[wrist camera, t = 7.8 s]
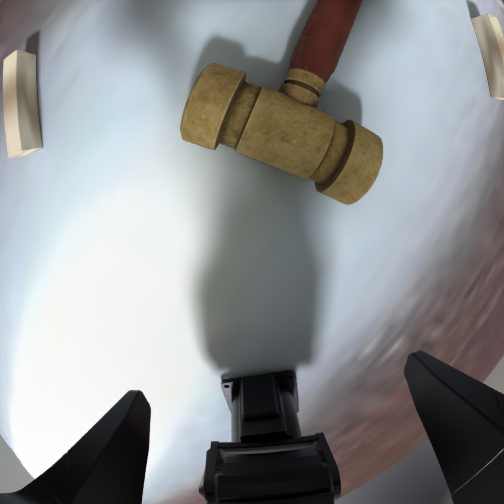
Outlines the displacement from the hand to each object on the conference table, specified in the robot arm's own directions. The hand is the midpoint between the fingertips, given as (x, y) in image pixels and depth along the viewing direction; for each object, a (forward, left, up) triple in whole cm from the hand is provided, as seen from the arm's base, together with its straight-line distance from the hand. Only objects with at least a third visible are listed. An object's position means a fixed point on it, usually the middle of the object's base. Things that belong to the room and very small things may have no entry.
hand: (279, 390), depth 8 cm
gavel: (+14, -7, -12) cm, 20 cm away
